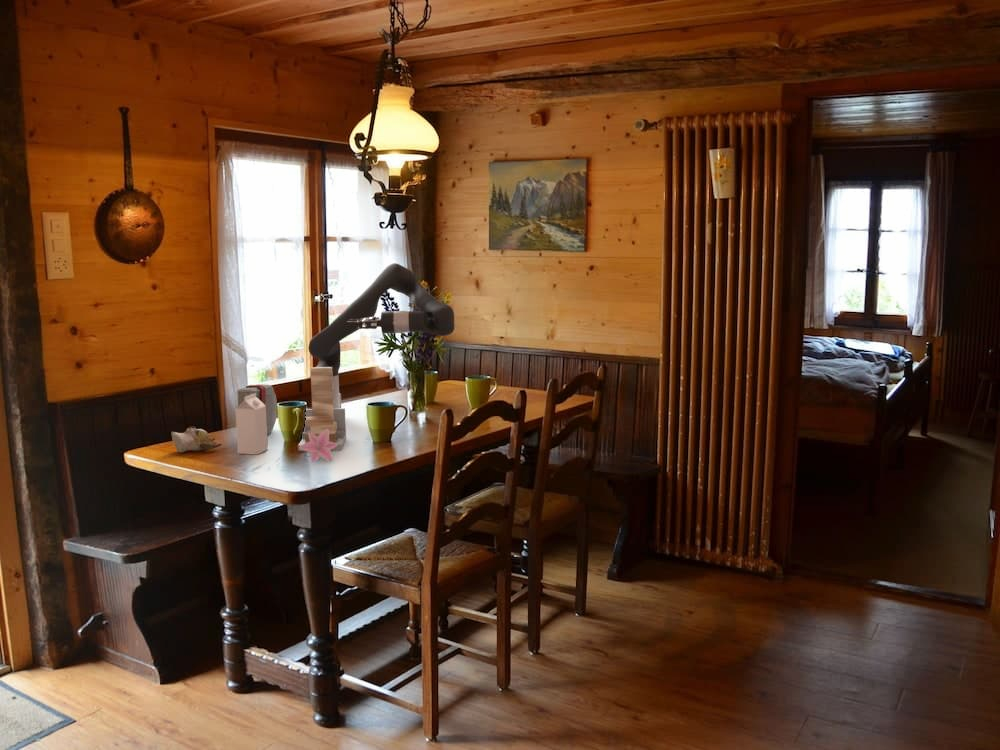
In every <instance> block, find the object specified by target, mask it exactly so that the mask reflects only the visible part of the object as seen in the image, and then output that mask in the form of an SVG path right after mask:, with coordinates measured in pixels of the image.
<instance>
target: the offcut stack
mask: <svg viewBox="0 0 1000 750" xmlns="http://www.w3.org/2000/svg"><path fill="white" fill-rule="evenodd" d="M306 426H310V431H307V432H306V434H305V443H307V442H310V439H309V435H308V433H312V434H314V435H316V436H317V437H318V436H319V434H321V433H322V432H323V431H324V430H326V429H329V442H333V443H336V441H337V439H338V433H337V423H336V422H334V421H333V416H314V417H306Z"/></svg>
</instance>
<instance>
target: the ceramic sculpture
mask: <svg viewBox="0 0 1000 750" xmlns="http://www.w3.org/2000/svg"><path fill="white" fill-rule="evenodd" d="M170 434H171V439H172V443H173V445H174V446H175V449H176V452H178V453H179V452H180V454H182V453H184V452H185V451H193V452H199V451H203V450H206V451H207V450H214V449H216V448H218V447H220V446H222V445H223V444H222V443H217V442H215V439H216V438H212V437H211V438H210V437H209V433H208V431H206V430H204V429H202V428H196V426H195V425H193V426H192V425H191V426H189V427H188V428H186V430H185V431H184V432H176V431H171V433H170Z"/></svg>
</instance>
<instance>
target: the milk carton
mask: <svg viewBox="0 0 1000 750" xmlns="http://www.w3.org/2000/svg"><path fill="white" fill-rule="evenodd" d="M235 425H236V426H235V427H236V443H237V446H236V447H237V454H243V455H260V454H261V453H263V452H266V451H268V450H269V447H268V435H267V422H266V406H265V405H264V404H263V403H262V402H261V401H260V400H259V399H258V398H257V397H256V393H255V394H252V395H249V396H246V397H244V401H243V402H242V403H241V404H240V405H239V406H238V405H237V407H235Z"/></svg>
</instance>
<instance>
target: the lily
mask: <svg viewBox="0 0 1000 750" xmlns="http://www.w3.org/2000/svg"><path fill="white" fill-rule="evenodd" d="M308 435H309V439H310V442H307V443H305V444H303V445H301V446H300V447H299V448H300V449H302V450H305V451H304V452H309V453H311V457H310V458H311V460H310V461H311V463H314V462H315V461H316V460H318V459H319V458H323V459H325V460H327V461H329V462H333V456H332V455H333V454H332V452H331V451H332V450H330V449H332V448H334V447H336V446H338V444H336V443H333V442H329V429H326V430H324V431H323V432H322V433H321V434H319V436H318V437H317V436H316V435H314V434H312V433H308Z"/></svg>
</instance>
